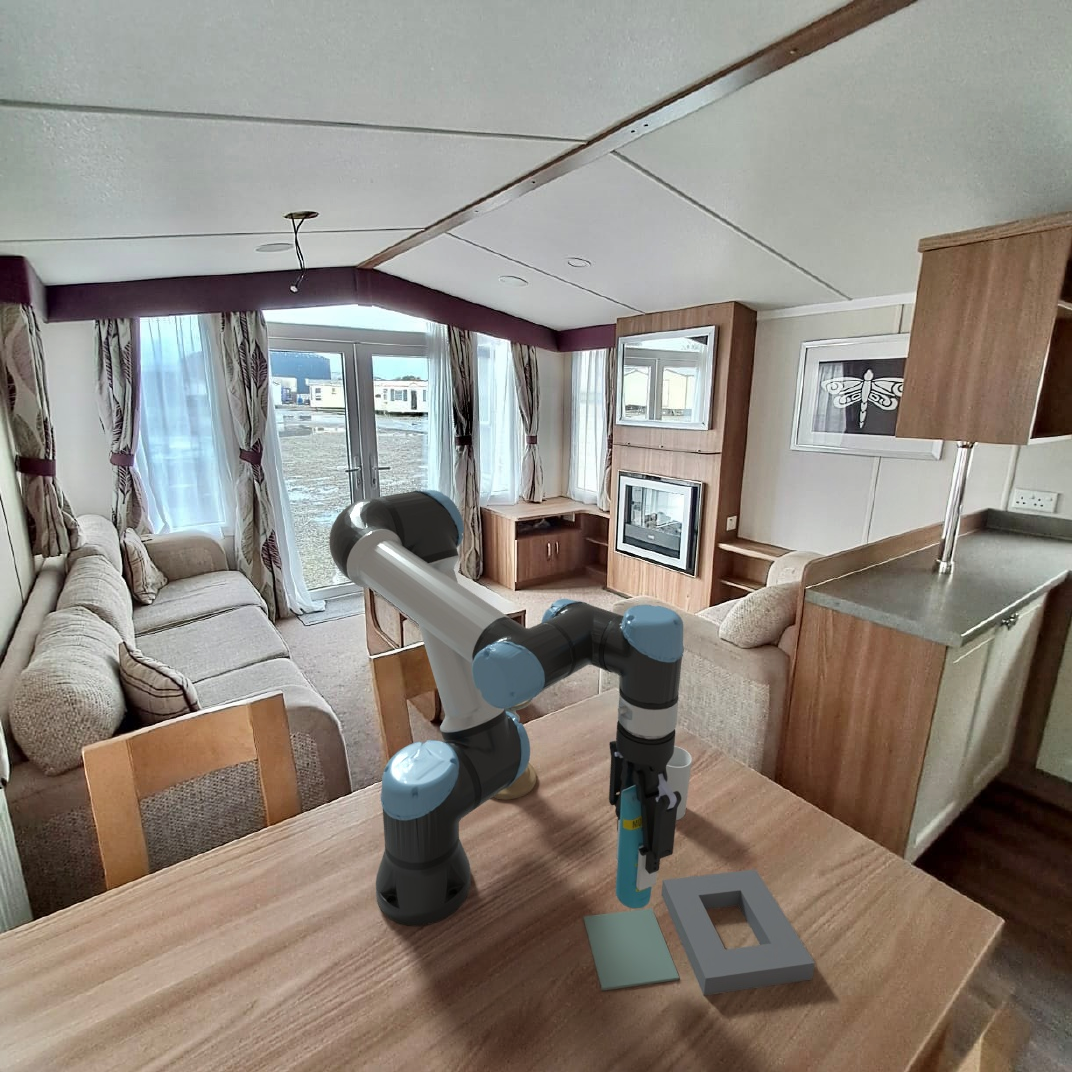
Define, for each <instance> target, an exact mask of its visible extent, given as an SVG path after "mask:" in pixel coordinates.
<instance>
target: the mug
mask: <svg viewBox="0 0 1072 1072" xmlns="http://www.w3.org/2000/svg"><path fill="white" fill-rule="evenodd" d="M692 761H693V758H692V755H691V754H690V753H689V751H687V750H686V749H684V748H682V747H679V746H676V745H674V753H673V756H672V757H671V759H670V760H669V762H668V763H667V765H666V771H667V776H668V780H667V784H668V786H669V787H670V789H671V791H672V792H675V791H678V792H679V793H680V794H681V802H680V804H679V806H678V808H677V816H676V821H679V820H682V819H683V818H684V816H685V814H686V808H687V803H688V796H689V795H688V792H689V785H690V779H691V778H690V777H691V771H692Z"/></svg>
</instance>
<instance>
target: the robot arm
mask: <svg viewBox="0 0 1072 1072" xmlns="http://www.w3.org/2000/svg"><path fill="white" fill-rule="evenodd" d="M337 515H338V516H337V517H336V518H335V520H334V522H333V523H332V526H331V529H330V533H329V539H328V540H329V545H328V546H329V550H330V555H331V557H332V560H333V563H334V565H335V566H336V568H337V569H338V570H339V571H340V572H341V574H343V576H345V577H346V578H347V579H348V580H350V582H352V584H353V583H354V584H355V585H356V586H358V587H361V588H372V590H374V591H375V592H377V593H378V594H379V595H381V596H382V597H383V598H384V599H386V600H387V601H388V602H389V603H391V604H393V605H394V607H396V608H398V609H399V610H400V611H401V612H403V613H404V614H405V615H406V616H408V617H410V618H411V619H412V620H413V621H415V622H416V623H417V624H418V627H419V631H420V635H421V638H422V640H423V644H424V647H425V650H426V654H427V655H426V656H427V658H428V661H429V664H430V667H431V671H432V674H433V678H434V681H435V686H436V687H437V692H438V695H439V698H440V701H441V705H442V709H443V712H444V715H445V717H444V718H443V721H442V723H441V725H440V726H439V729H440V733H441V735H442V740H443V741H442V740H436V739H427V740H425V742H422V741H416V742H412V743H410V744H408V745H406V746H405V747H403V748H402V749H399V750H398V751H396V753H395V754H393V756H392V757H391V758H390V759H389V761H387V764H386V765H385V767H384V770H383V773H382V777H381V791H380V802H381V807H382V821H383V834H384V835H383V837H384V852H383V854H382V857H381V860H380V864H379V866H378V870H377V873H376V876H375V877H376V878H375V894H376V895H375V896H376V901H377V904H378V906H379V908H380V910H381V912H382V913H383V914H384V915H385V916H386V917H387V918H389V919H390V920H392V921H394V922H395V923H397V924H400V925H401V924H402V925H406V926H409V927H410V926H411V927H412V926H416V927H417V926H418V927H420V926H426V925H427V926H428V925H431V924H435V923H437V922H440V921H442V920H444V919H446V918H447V917H449V916H451V915H452V914H453V913H455V911H457V910H458V909H459V908H460V906H461V905H462V904H463V903H464V902H465V900H466V899H467V896H468V894H469V891H470V888H471V882H472V881H471V864H470V861H469V857H468V856H467V853H466V851H465V849H464V847H463V844H462V842H461V839H460V822H461V820H462V819H463V818H464V817H466V816H467V815H469V814H470V813H471V812H473V811H475V810H476V809H477V808H479V807H480V806H481V805H483V804H484V803H486V802H488V801H489V800H490V799H491V798H493V796H494V795H496V794H497V793H499V792H500V791H502V790H503V789H505V788H507V787H509V786H510V785H511V784H512V783H513V782H514V781H515V780H516V779H517V778H518V777H520V776H521V775H522V774H523V773H524V771H525V770H526V768H527V766H528V763H530V759H531V743H530V738H529V735H528V733H527V730H526V728H525V726H524V725H523V723H521V722H520V721H519V722H518V718H517V717H516V716H515V715H513V714H512V713H510V712H507V711H505V709H507V708H511V707H513V706H516V705H518V704H520V703H522V702H525V701H527V700H530V699H532V698H533V699H534V698H536V697H537V696H538V695H540V693H542V692H544V691H545V690H547V689H549V688H550V687H552V686H553V685H556V684H557V683H559V682H560V681H561V680H564V679H566V678H568V677H570V676H571V675H573V674H575V673H577V672H578V671H580V670H583V668H585V667H587V666H593V667H596V668H599V669H601V670H602V671H603V670H604V671H606V672H609V673H613V674H616V675H618V678H619V679H618V680H619V681H618V684H619V685H618V687H619V688H618V693H619V694H618V695H619V696H618V706H617V707H618V708H617V722H616V733H615V734H616V735H615V736H616V738H615V740H612V741H610V742H609V744H608V745H609V750H610V751H609V753H610V769H609V770H610V772H609V773H610V774H609V790H608V791H609V792H608V802H609V804H610V806H614V807H615V809H614V810H615V811H614V812H615V815H616V817H617V820H616V821H617V824H616V832H617V836H616V854H615V855H616V856H615V859H616V860H617V861H618V848H619V832H620V813H621V793H622V791H623V790H625V789H627V788H630V787H632V786H634V785H636V794H637V800H638V801H639V802H640V804H641V818H642V833H643V846H640V847H639V856H638V870H637V884H636V887H637V888H638V890H639V891H640V890H643V889H645V888H648V887H651V888H652V887H653V886H655V885H657V877H658V872H659V870H660V865H661V859H664V858H666V857H668V856H672V855H673V854H674V845H675V844H674V843H675V835H676V827H677V824H676V823H677V820H676V816H677V808H678V806H679V804H680V802H681V794H680V793H679V792H678V791H675V792H672V791H671V789H670V787H669V786H668V784H667V780H668V776H667V771H666V765H667V763H668V762H669V760H670V759H671V757H672V756H673V753H674V746H675V741H676V740H675V739H676V727H677V723H678V711H679V691H680V689H679V688H680V682H681V681H680V680H681V671H682V660H683V656H684V653H685V647H684V621H683V619H682V617H681V616H680V615H679V614H678V613H677V612H676V611H675V610H672V609H671V608H668V607H665V606H661V605H651V604H638V605H634V606H631V607H629V608H628V609H627V610H625V612H624V613H623V615H622V614H619V613H615V612H612V611H610V610H607V609H603V608H601V607H599V606H598V607H597V606H594V605H592V604H590V603H587V602H585V601H581V600H574V599H571V598H570V599H569V598H559V599H557V600H555V601H554V602H552V604H551V606H550V607H549V608H547V609H546V610H545V612H544V614H543V615H542V619H541V621H540V622H541V623H540V622H539V624H535V625H534V626H532V627H525V626H524V625H522V624H521V623H519V622H518V621H516V620H513V618H511V617H510V616H508V615H506V614H505V613H503V612H501V610H499V609H498V608H496V607H494V606H493V605H491V603H488V602H487V601H485V600H484V599H482V598H481V597H479V596H478V595H477V594H475V593H473V592H472V591H471V590H469V589H468V588H465V586H463V585H461V583H459V582H458V577H457V576H456V572H455V567H456V564H457V562H458V561H459V559H460V555H459V551H458V548H459V546H460V545H461V543H462V542H463V539H464V535H463V534H464V533H465V525H464V520H463V517H462V514H461V512H460V510H459V508H458V506H457V505H456V503H455V502H454V501H453V499H451V498H450V497H449V496H448V495H445V494H444V493H443V492H441V491H439V490H436V489H435V490H434V489H433V490H432V489H425V490H418V489H415V490H412V491H406V492H401V493H396V494H390V495H384V496H378V497H369V498H362V499H360V500H358V501H354V502H352V503H350V504H349V505H348V506H346V507H345V508H344V509H343V510H342V511H341V512H340V513H339V514H337Z"/></svg>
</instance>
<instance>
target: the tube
mask: <svg viewBox="0 0 1072 1072" xmlns="http://www.w3.org/2000/svg"><path fill="white" fill-rule="evenodd" d="M640 846H643V833H642V818H641V804H640V802H639V801H638V800H637V794H636V785H634V786H632V787H630V788H627V789H625V790H623V791H622V793H621V813H620V832H619V848H618V860H617V863H616V864H617V866H616V867H617V868H616V880H615V881H616V882H615V883H616V884H615V896H616V897H617V900H618V901H619V902H620V903H621V904H622V905H623V906H625V907H626V908H630V909H634V910H638V909H644V908H645V907H646V906H648V904H649V903H650V900H651V895H652V886H651V887H648V888H645V889H643V890H640V891H639V890H638V888H637V887H636V884H637V870H638V856H639V847H640Z"/></svg>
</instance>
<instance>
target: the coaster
mask: <svg viewBox="0 0 1072 1072" xmlns="http://www.w3.org/2000/svg"><path fill="white" fill-rule="evenodd" d="M583 920H584V925H585V929H586V933H587V937H588V938H587V939H588V942H589V944H590V950H591V953H592V956H593V961H594V964H595V969H596V973H597V977H598V981H599V984H600V988H601V991H607V990H608V991H609V990H617V989H623V988H629V987H637V986H645V985H652V984H657V983H658V984H659V983H663V982H664V983H665V982H672V981H679V980H680V976H679V974H678V971H677V968H676V966H675V963H674V961H673V958H672V955H671V953H670V951H669V947H668V945H667V943H666V940H665V938H664V935H663V932H662V930H661V928H660V925H659V922H658V919H657V917H656V914H655V912H654V909H653V908H641V909H634V910H627V911H625V910H624V911H619V912H617V911H616V912H611V913H603V914H596V915H595V914H593V915H585V916H583Z"/></svg>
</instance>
